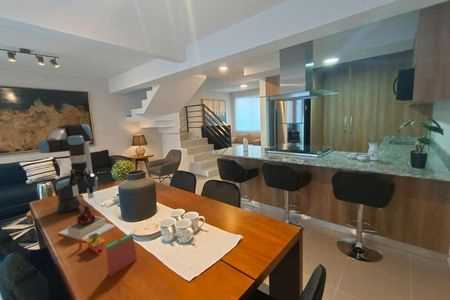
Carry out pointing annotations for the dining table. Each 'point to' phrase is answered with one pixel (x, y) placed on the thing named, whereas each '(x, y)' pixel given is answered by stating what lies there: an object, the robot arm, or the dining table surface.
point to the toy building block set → (113, 251)
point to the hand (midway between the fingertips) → (83, 196)
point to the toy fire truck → (85, 215)
